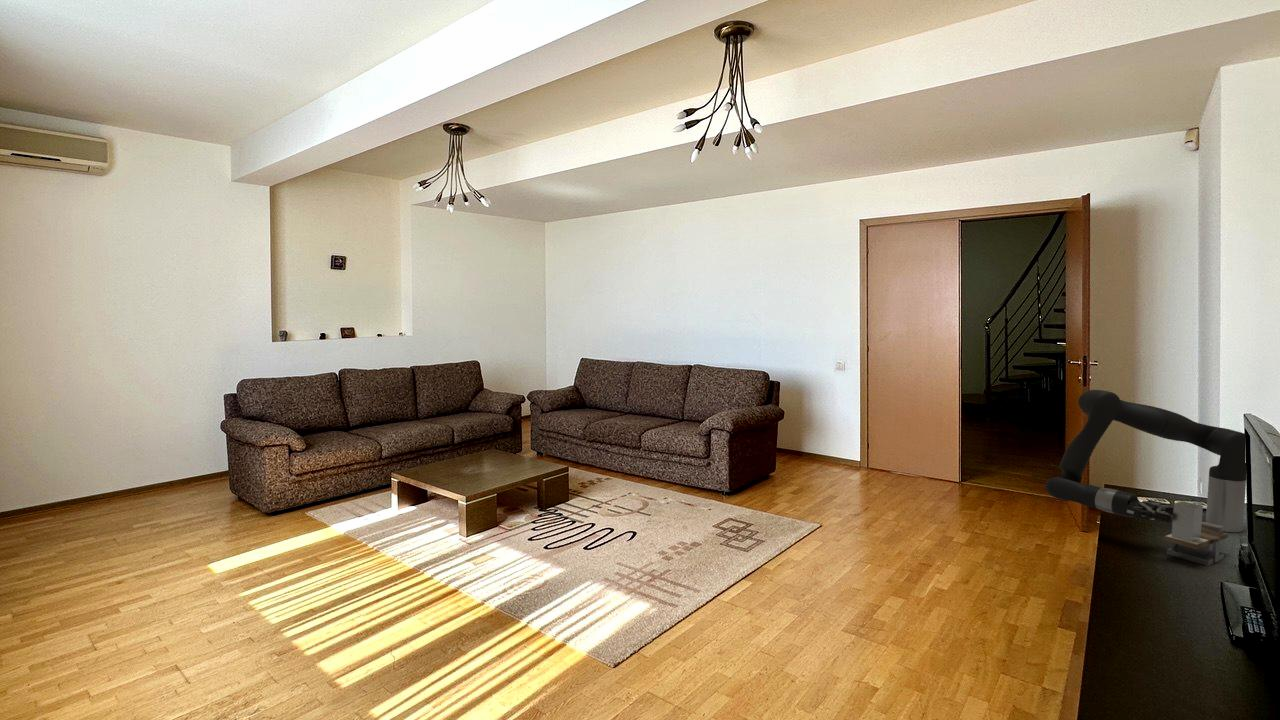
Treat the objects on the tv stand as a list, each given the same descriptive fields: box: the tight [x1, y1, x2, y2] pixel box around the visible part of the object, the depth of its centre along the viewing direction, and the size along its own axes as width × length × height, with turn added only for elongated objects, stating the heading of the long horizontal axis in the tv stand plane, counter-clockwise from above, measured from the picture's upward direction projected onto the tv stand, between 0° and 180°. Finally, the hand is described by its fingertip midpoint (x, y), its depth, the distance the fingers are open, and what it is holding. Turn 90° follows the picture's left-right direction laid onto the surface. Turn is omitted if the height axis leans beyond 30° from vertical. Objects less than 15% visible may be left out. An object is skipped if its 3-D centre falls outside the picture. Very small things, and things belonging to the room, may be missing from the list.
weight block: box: [1171, 501, 1204, 542], centre depth 188 cm, size 5×5×10 cm
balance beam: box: [1163, 521, 1229, 549], centre depth 191 cm, size 20×8×3 cm, turn 119°
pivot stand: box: [1166, 540, 1225, 567], centre depth 192 cm, size 10×10×6 cm
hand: (1178, 516), depth 190 cm, fingers open, 8 cm apart
